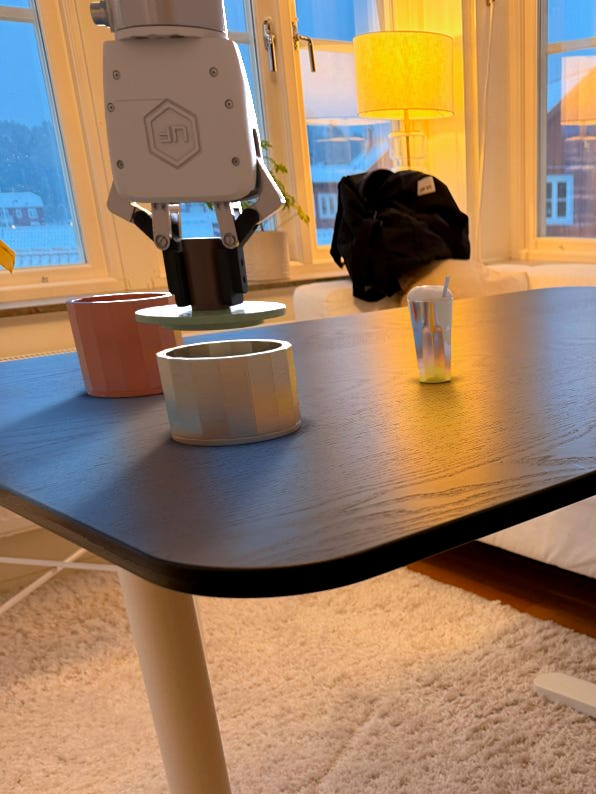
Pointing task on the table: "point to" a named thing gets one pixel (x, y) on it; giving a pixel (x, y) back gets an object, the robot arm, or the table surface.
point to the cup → (120, 343)
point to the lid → (207, 297)
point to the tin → (230, 391)
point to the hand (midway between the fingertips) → (210, 302)
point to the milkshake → (432, 330)
